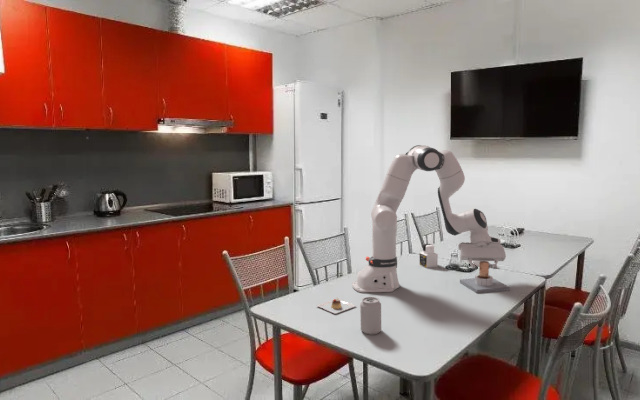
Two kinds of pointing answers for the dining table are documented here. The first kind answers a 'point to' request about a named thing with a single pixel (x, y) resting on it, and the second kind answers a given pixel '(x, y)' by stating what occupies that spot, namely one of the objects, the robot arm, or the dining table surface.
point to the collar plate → (483, 288)
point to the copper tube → (484, 270)
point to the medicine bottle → (428, 256)
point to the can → (370, 315)
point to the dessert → (336, 304)
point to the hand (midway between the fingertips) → (484, 268)
